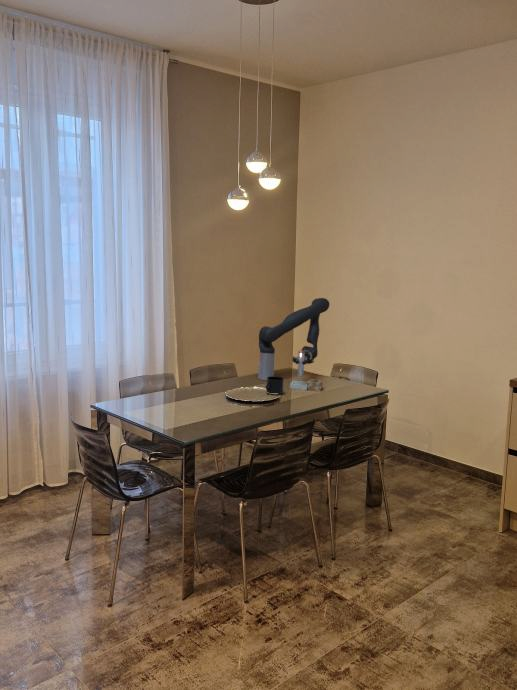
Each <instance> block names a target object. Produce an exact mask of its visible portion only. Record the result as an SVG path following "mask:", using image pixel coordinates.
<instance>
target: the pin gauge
mask: <svg viewBox="0 0 517 690" xmlns="http://www.w3.org/2000/svg"><path fill="white" fill-rule="evenodd" d="M304 355H305V351H301V350H299V351H298V356H297V357H298V364H297V377H304V375H305V370H304V369H305V365H303V361H304Z"/></svg>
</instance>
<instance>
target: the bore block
mask: <svg viewBox="0 0 517 690" xmlns="http://www.w3.org/2000/svg"><path fill="white" fill-rule="evenodd" d="M306 382H307V389H308V390H307V391H312V390H321V391H322V389H323V379H316V378H309V379H308V380H307V381H306ZM321 388H322V389H321Z"/></svg>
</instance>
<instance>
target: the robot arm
mask: <svg viewBox="0 0 517 690" xmlns="http://www.w3.org/2000/svg"><path fill="white" fill-rule="evenodd" d="M329 308H330V301H329V300H328V299H327V298H326V297H325V298H324V297H318V298H314V299H313V300H312V301H311V304H310V305H308V306H306V307H304V308H301V309H298V310H296V311H294V312H292V313H290V314H288V315H287V316H286V317H285V318H284V320H282V322H280V323H279V324H278V325H275V326H273V327H269V326H266V325H265V326H262V327H261V328H260V330H259V334H258V348H259V363H258V373H257V374H258V375H257V379H258V380H261V381H267V377H270V376H274V375H275V371H274V370H275V353H276V350H275V347H274V345H273V343H274V342H275V341H277V340H278V339H280V338H281V337H282V336H284V335H285V334H287V333H289V332H290V331H293V330H294V329H296V328H298V327H300V326H301V325H303V324H304V323H306V322H308V321H309V327H308V332H307V337H306V342H307V343H308V344H310V345H312V346H308V345H305V346H303V347H302V348H301V350H300V351H305V355H304V361H303V365H304V366H305V365H307V364H308V365H310V364H313V363H315V359H316V358H317V357H318V354H319V353H318V352H319V351H318V342H319V336H320V323H319V322H320V316H321V314H323V313H325V312H327V311H328V310H329ZM291 360H292V362H293V363H294V364H295V365H298V356H292V359H291Z"/></svg>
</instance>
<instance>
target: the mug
mask: <svg viewBox="0 0 517 690" xmlns="http://www.w3.org/2000/svg"><path fill="white" fill-rule="evenodd" d="M265 389H266V393H267V392H269V393H278V394H281V395H283V394H284V377H281V376H276V375H275V376H270V377H267V380H266V385H265Z"/></svg>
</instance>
